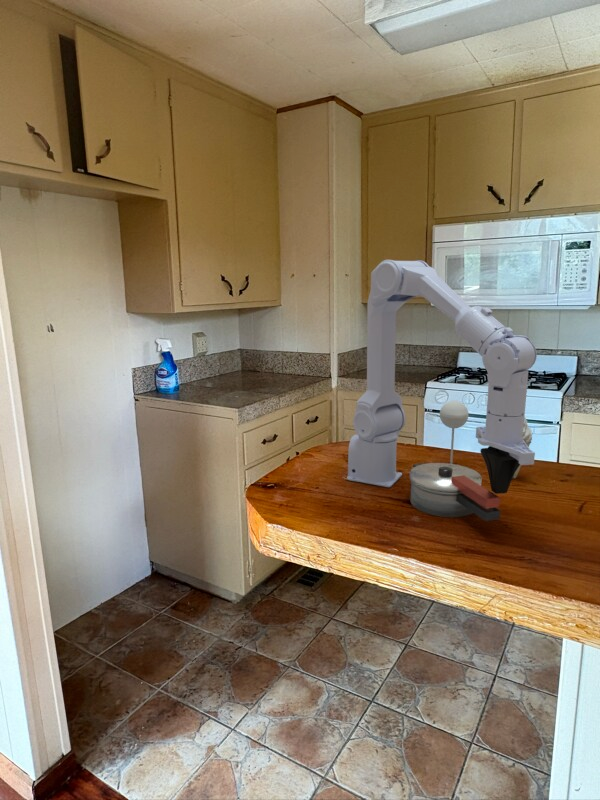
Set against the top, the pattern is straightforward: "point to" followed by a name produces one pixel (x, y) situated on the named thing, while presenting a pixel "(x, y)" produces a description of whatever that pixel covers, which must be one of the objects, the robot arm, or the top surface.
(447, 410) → the lollipop
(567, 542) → the top surface
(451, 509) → the pot
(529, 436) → the ice cream cone
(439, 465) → the lid
